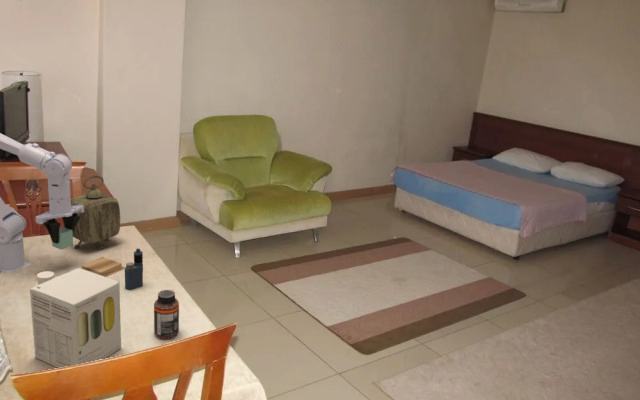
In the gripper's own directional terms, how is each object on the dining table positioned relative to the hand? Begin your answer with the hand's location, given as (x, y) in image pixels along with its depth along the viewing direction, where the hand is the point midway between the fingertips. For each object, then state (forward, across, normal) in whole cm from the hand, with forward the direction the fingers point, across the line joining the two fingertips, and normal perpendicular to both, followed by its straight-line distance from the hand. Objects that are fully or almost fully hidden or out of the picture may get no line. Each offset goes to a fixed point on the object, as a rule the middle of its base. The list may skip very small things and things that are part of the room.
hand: (62, 240), depth 157 cm
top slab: (+9, +6, -9) cm, 14 cm away
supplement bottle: (+10, -8, -49) cm, 50 cm away
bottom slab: (+10, +6, -9) cm, 15 cm away
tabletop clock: (+10, +17, +6) cm, 20 cm away
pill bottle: (+10, -17, -16) cm, 25 cm away
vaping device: (+10, +4, -25) cm, 27 cm away
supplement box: (+10, -26, -39) cm, 47 cm away
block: (+2, 0, 0) cm, 2 cm away
